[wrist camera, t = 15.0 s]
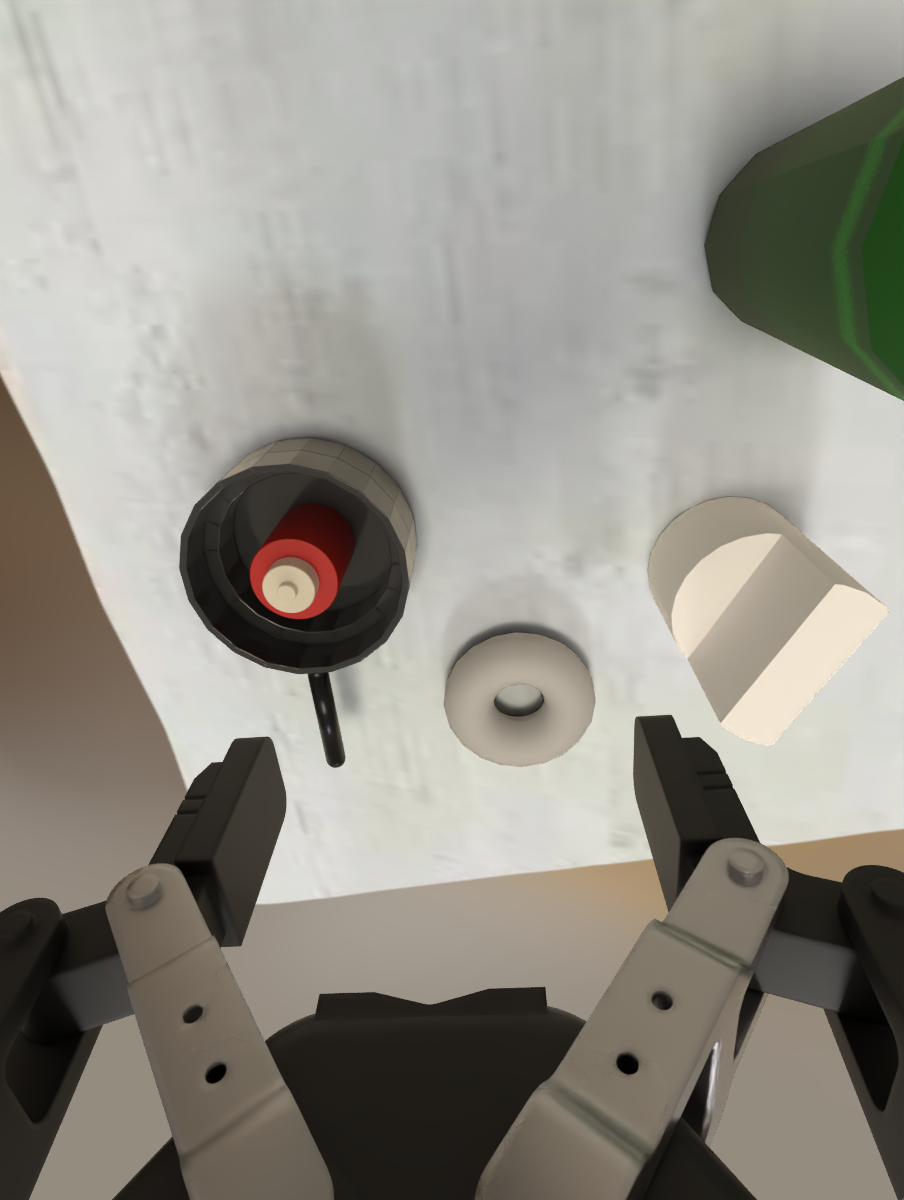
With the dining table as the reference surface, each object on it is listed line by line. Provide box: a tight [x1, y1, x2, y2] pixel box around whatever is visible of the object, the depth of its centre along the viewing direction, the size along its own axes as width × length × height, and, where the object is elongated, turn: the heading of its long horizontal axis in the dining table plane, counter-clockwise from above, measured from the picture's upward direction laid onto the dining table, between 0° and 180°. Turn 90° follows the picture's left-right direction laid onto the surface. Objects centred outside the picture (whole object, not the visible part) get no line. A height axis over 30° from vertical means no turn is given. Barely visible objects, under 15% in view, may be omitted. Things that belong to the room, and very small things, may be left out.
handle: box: [308, 672, 345, 768], centre depth 43 cm, size 8×1×1 cm, turn 5°
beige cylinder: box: [648, 497, 889, 746], centre depth 38 cm, size 9×9×12 cm
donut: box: [444, 632, 595, 767], centre depth 46 cm, size 10×4×10 cm
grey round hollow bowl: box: [179, 438, 417, 674], centre depth 41 cm, size 12×12×6 cm
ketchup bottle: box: [250, 503, 355, 619], centre depth 40 cm, size 5×5×8 cm
